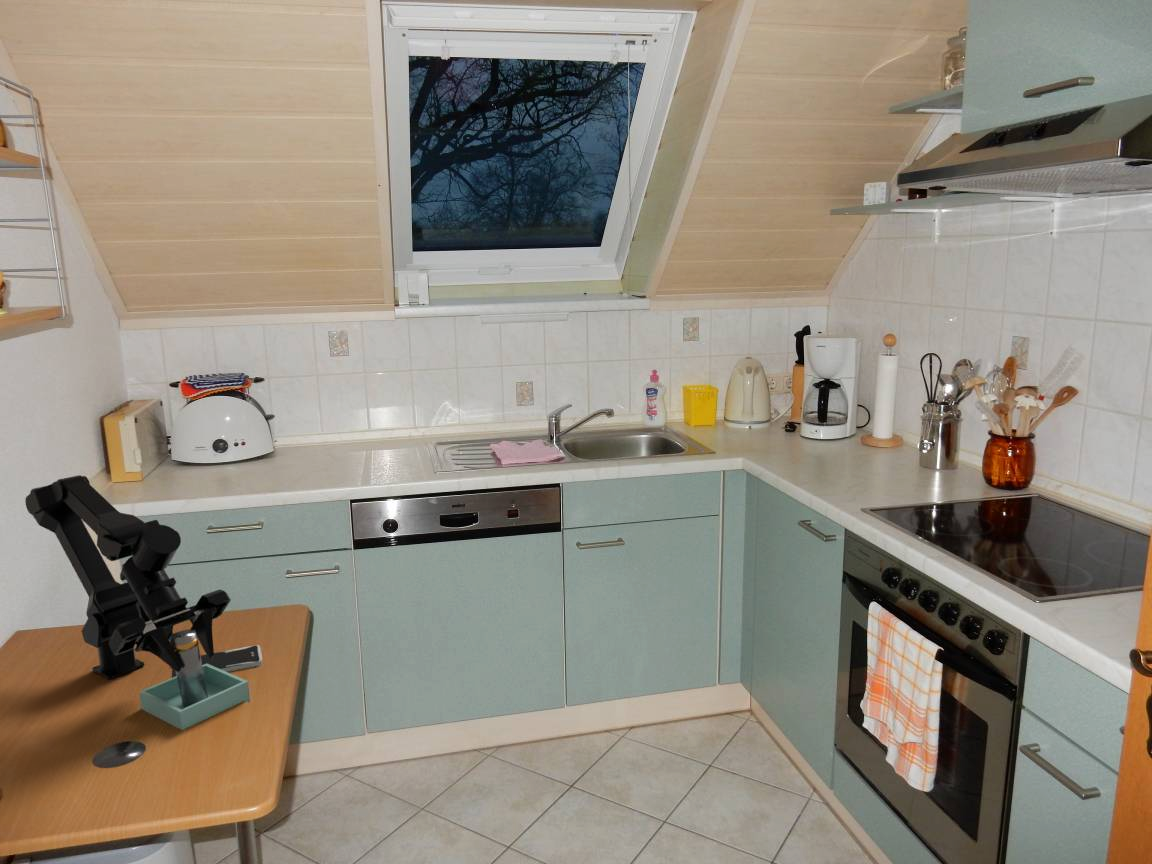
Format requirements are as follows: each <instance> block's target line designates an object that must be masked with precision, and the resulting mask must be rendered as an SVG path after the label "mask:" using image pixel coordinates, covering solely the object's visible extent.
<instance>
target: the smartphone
mask: <svg viewBox="0 0 1152 864" xmlns="http://www.w3.org/2000/svg"><path fill="white" fill-rule="evenodd" d="M200 656H201V662H202V665H204V664H209V665H212V666H214V667H216V668H218V669H221V670H223V671H225V672H228V673H230V672H233V671H239V669H240V670H244V669H249V668H256V667H259V666H260V667H261V666H262V665H263V664H264V661H263V655H262V648H261V646H260V645H258V644H256V645H255V644H254V645H251V646H250V645H249V646H244V647H240V648H239V647H238V648H234V649H229V650H223V651H222V650H221V651H217V652H214V656H213V657H212V658H209V657H208V655H207V654H206V653H205V654H200ZM255 666H256V667H255ZM176 676H177V675H176V670H174V669H173V668H172V678H173V677H176Z"/></svg>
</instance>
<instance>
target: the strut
mask: <svg viewBox="0 0 1152 864" xmlns="http://www.w3.org/2000/svg"><path fill="white" fill-rule="evenodd" d="M169 641H170V643H171V645H172V647H173V649H174V651H175V653H176V655H177V657H178V659H179V662H180V665H181V670H180V671H179V672H177V671H176V675H177V680H178V685H179V691H180V696H181V701H182V706H183V707H184V708H186V707H188V706H191V705H193V704H195V703H197V702H199V701H202V700H204V699H206V698H208V693H207V688H206V682H205V677H204V672H203V667H202V662H201V652H200V647H199V643H200V641H199V639H198V637H197V635H196V631H195V630H190V629H184V630H179V631H176V632H173V634H172V635H171V636H170V637H169Z"/></svg>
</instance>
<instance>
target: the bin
mask: <svg viewBox="0 0 1152 864" xmlns="http://www.w3.org/2000/svg"><path fill="white" fill-rule="evenodd" d="M202 667H203V672H204V677H205V682H206V688H207V693H208V698H206V699H204V700H202V701H199V702H197V703H195V704H193V705H191V706H188V707H186V708H184V707H183V706H182V701H181V696H180V691H179V685H178V680H177V676H176V677H173V676H172V677H171V678H169V679H167V680H164V681H162V682H159V683H157V684H154V685H153V686H149V687H148V688H145V689H143V690H140V691H138V692H139V693H138V694H139V701H140V706H141V707H140V708H141V710H143V711H144V712H147V713H149V714H150V715H152V716H154V717H156V718H158V719H160V720H161V721H164V722H166V723H168V724H170V725H171V726H173V727H175V728H177V729H180V731H184V730H186V729H188V728H190V727H192V726H195V725H197V724H199V723H200V722H203V721H205V720H206V719H208V718H211V717H213V716H215V715H217V714H220V713H222V712H224V711H226V710H228V709H230V708H233V707H234V706H237V705H238V704H240V703H243V702H246V703H250V702H251V697H250V696H251V695H250V694H251V693H250V687H249V680H247V679H243V678H241V677H240V676H237V675H234V674H232V673H230V672H225V671H223V670H221V669H218V668H216V667H214V666H212V665H209V664H204V665H202Z"/></svg>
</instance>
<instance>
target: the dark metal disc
mask: <svg viewBox="0 0 1152 864" xmlns="http://www.w3.org/2000/svg"><path fill="white" fill-rule="evenodd" d="M146 749H147V748H146V745H145V744H144V743H143V742H141V741H134V740H131V741H130V740H128V741H121V742H118V743H114V744H112V745H111V744H110V745H109V746H107V747H104V748H102V749H101V750H100V751H98V752H97V753H96V754H95V755H94V757H93V758H92V763H93V765H94V766H95V767H97V768H102V769H110V768H111V769H113V768H117V767H121V766H124V765H127V764H130V763H132V762H135V761H136V760H137V759H139V758H141V757H142V756H143V754H144V753H145V752H146Z"/></svg>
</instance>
